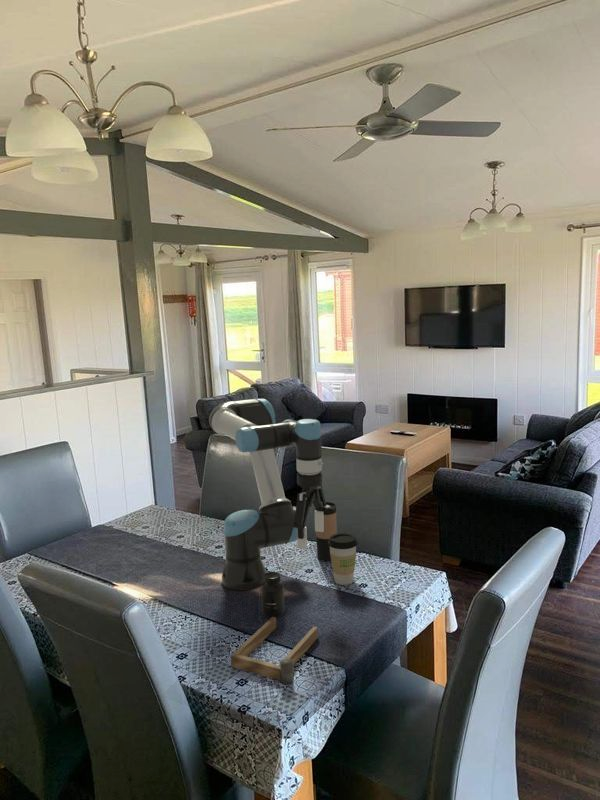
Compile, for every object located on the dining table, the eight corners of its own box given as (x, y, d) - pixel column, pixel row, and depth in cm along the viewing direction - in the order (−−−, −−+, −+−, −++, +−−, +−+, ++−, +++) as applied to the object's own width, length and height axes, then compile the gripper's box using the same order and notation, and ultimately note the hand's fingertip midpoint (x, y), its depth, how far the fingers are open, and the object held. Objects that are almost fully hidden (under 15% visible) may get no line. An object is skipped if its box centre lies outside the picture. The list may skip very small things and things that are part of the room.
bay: (229, 668, 149) (228, 650, 148) (272, 626, 168) (272, 610, 167) (289, 685, 141) (288, 666, 140) (327, 639, 160) (327, 622, 159)
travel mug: (315, 554, 218) (313, 502, 215) (336, 552, 219) (334, 501, 216) (318, 562, 210) (316, 509, 208) (339, 561, 211) (337, 507, 208)
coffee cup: (356, 588, 190) (355, 544, 188) (327, 586, 192) (325, 542, 190) (360, 575, 199) (359, 532, 197) (331, 573, 201) (330, 531, 199)
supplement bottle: (267, 620, 171) (266, 582, 170) (258, 610, 177) (256, 573, 176) (288, 614, 174) (287, 576, 173) (279, 605, 180) (277, 568, 179)
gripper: (304, 484, 161) (306, 557, 164) (335, 462, 184) (336, 526, 187) (280, 482, 164) (282, 553, 167) (313, 460, 187) (315, 523, 190)
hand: (311, 539), depth 177 cm, fingers open, 13 cm apart
